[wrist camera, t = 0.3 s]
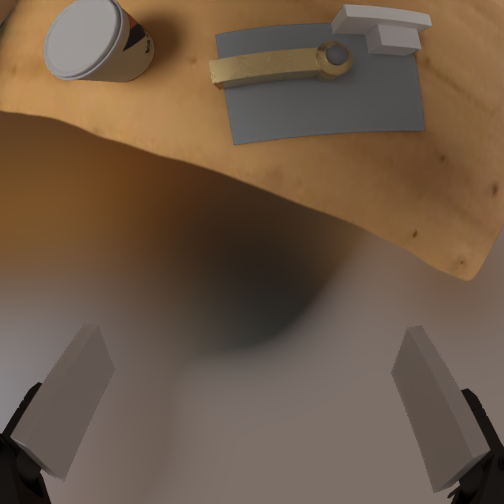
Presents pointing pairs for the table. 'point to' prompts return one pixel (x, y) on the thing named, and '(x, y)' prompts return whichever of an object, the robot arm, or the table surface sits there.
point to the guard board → (340, 89)
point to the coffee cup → (97, 43)
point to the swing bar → (277, 66)
